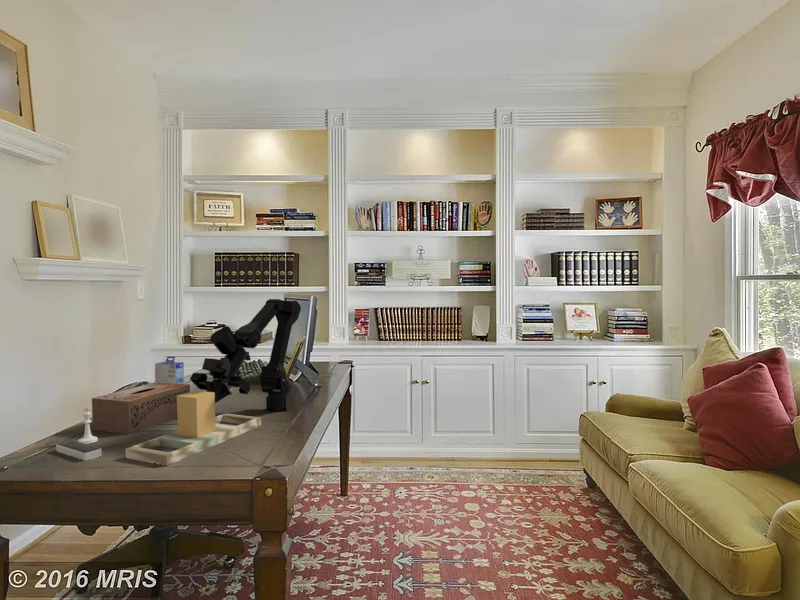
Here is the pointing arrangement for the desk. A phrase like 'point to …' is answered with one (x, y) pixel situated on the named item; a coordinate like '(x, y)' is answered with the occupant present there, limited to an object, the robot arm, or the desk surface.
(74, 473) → the desk surface
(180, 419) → the ochre block
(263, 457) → the desk surface
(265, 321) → the robot arm
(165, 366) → the ink cartridge box
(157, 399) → the tissue box cover
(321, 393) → the desk surface
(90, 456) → the multiport hub
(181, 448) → the trap board
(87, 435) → the chess piece
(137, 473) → the desk surface
